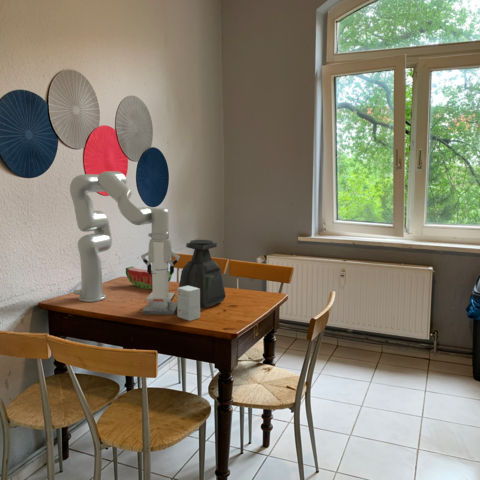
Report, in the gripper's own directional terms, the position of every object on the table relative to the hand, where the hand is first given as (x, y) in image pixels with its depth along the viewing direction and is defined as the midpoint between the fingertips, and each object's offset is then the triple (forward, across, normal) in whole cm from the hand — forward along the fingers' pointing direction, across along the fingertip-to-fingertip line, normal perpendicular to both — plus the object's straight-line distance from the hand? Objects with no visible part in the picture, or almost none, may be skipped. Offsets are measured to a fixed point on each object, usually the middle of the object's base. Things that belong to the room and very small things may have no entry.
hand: (160, 274), depth 205 cm
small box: (+17, +14, -10) cm, 24 cm away
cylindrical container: (+10, 0, 0) cm, 10 cm away
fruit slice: (+17, -15, +38) cm, 44 cm away
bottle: (+17, +17, +11) cm, 26 cm away
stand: (+16, 0, 0) cm, 16 cm away
